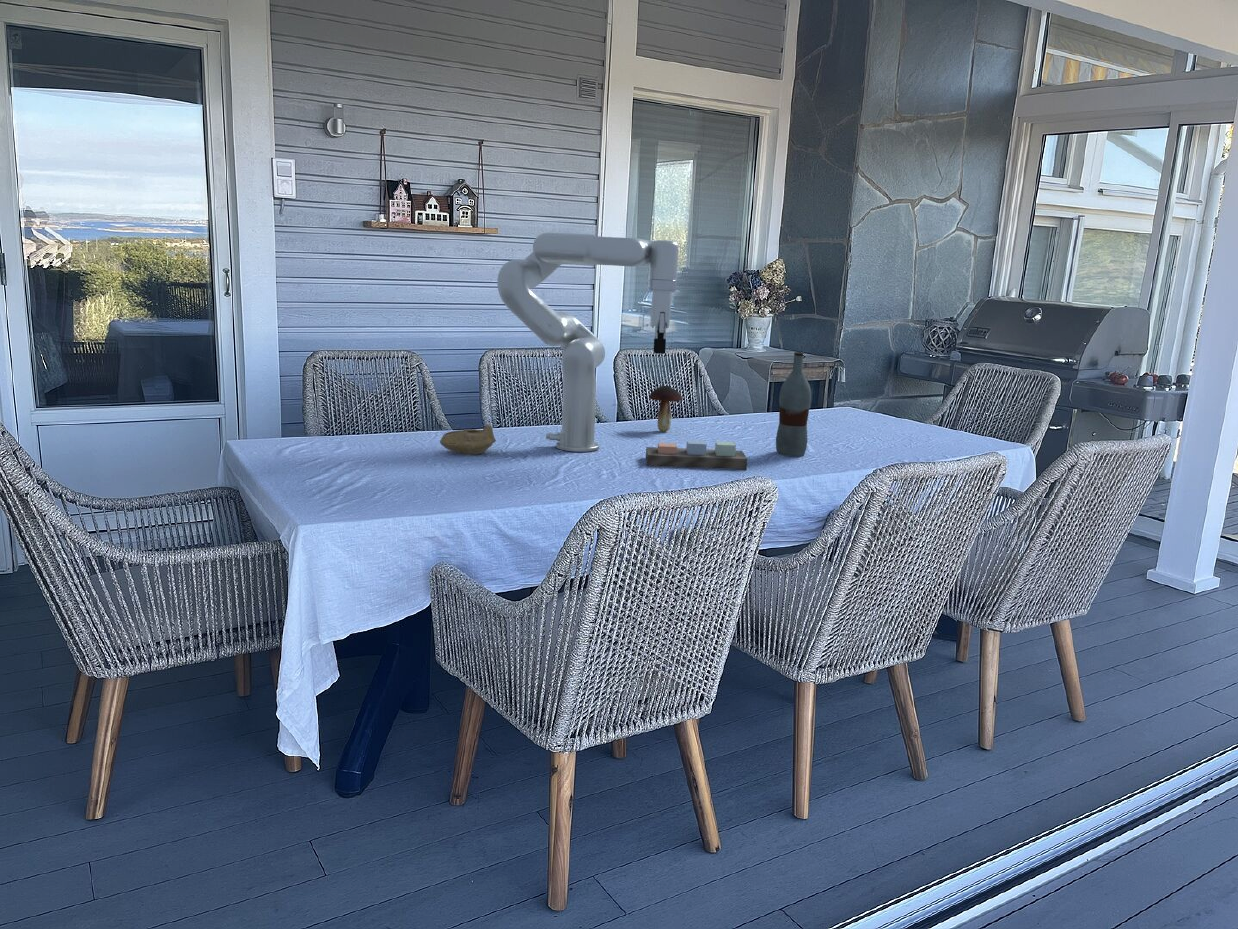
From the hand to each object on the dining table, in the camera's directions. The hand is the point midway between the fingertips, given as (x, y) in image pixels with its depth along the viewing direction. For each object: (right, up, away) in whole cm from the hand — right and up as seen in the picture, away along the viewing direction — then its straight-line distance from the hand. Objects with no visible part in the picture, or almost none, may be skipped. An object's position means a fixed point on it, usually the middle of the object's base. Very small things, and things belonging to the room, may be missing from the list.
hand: (659, 353), depth 269 cm
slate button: (+10, -29, -3) cm, 31 cm away
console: (+10, -31, -2) cm, 32 cm away
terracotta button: (+2, -30, -3) cm, 30 cm away
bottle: (+40, -28, +17) cm, 51 cm away
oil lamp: (-53, -28, -2) cm, 60 cm away
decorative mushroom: (+3, -21, +43) cm, 48 cm away
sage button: (+18, -30, -2) cm, 35 cm away
